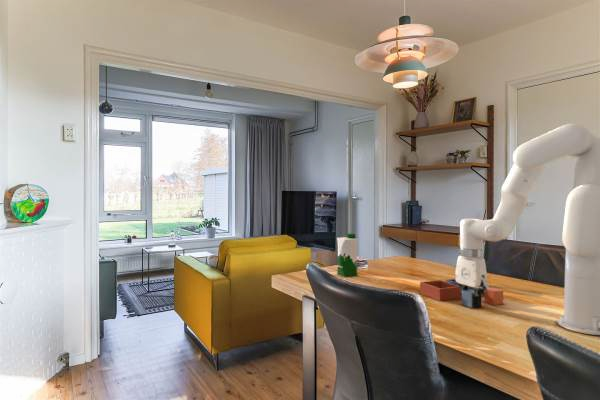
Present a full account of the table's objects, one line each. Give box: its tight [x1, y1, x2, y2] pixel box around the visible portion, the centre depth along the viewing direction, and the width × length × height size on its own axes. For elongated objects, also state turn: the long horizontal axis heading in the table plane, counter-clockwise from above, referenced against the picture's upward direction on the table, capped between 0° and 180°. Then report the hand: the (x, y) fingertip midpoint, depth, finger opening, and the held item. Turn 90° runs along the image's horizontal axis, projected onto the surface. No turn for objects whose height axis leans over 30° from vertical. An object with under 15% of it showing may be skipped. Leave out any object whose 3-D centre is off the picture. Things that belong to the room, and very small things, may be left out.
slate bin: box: [445, 278, 484, 297], centre depth 146 cm, size 11×10×4 cm
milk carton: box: [336, 233, 359, 278], centre depth 178 cm, size 9×9×20 cm
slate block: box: [461, 289, 475, 309], centre depth 129 cm, size 4×4×5 cm
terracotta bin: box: [419, 279, 462, 302], centre depth 142 cm, size 11×10×4 cm
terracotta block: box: [483, 287, 504, 306], centre depth 133 cm, size 4×4×5 cm
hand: (471, 304), depth 129 cm, fingers closed on slate block, 4 cm apart
